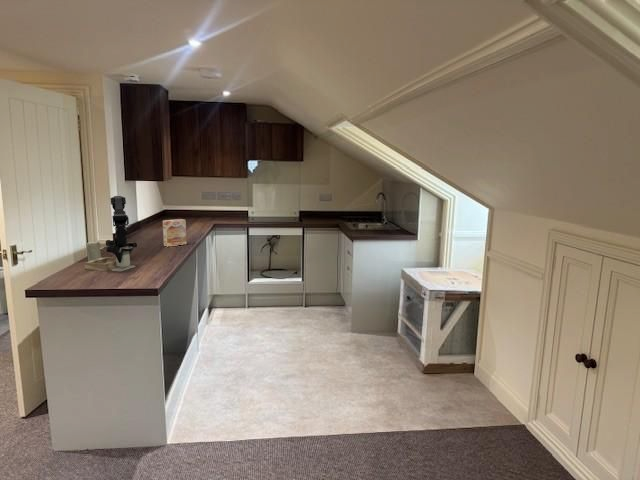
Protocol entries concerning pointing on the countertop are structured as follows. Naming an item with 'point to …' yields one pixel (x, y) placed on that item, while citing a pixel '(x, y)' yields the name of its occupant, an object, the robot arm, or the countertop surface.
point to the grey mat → (123, 268)
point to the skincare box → (93, 251)
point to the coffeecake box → (174, 232)
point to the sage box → (124, 259)
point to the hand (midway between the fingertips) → (123, 261)
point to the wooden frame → (102, 264)
